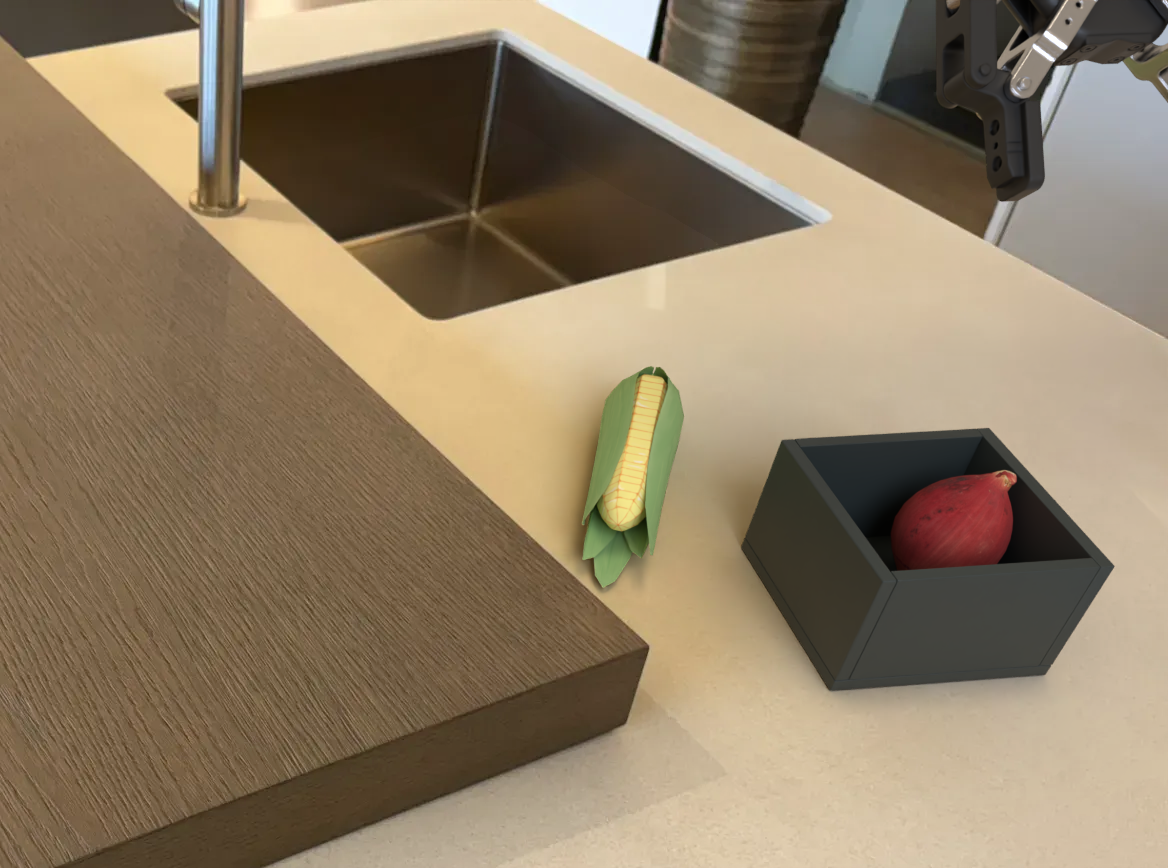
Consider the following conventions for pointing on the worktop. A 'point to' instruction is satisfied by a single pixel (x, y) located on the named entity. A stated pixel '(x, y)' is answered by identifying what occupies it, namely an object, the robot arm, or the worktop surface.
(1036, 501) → the trash bin
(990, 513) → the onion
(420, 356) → the worktop surface
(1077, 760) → the worktop surface
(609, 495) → the edible corn
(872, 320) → the worktop surface
